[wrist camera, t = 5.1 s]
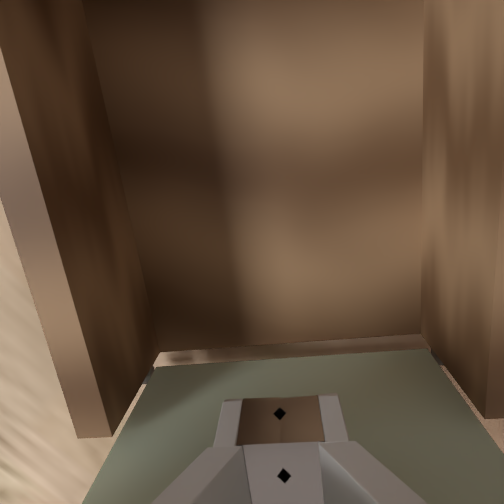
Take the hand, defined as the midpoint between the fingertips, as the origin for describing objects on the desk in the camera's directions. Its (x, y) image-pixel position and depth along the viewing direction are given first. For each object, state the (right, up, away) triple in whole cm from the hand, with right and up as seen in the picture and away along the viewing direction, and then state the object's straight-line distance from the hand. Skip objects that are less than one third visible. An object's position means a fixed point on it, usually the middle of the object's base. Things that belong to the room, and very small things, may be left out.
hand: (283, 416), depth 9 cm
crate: (0, +8, +5) cm, 10 cm away
